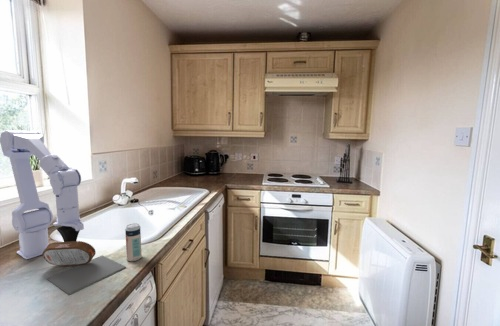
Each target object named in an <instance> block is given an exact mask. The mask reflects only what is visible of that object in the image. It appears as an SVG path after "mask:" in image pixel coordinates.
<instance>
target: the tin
mask: <svg viewBox="0 0 500 326" xmlns="http://www.w3.org/2000/svg"><path fill="white" fill-rule="evenodd" d="M95 255H96V249H95V247H94V246H93V245H91V244H90V243H88V242H86V241H80V240H77V241H73V242H64V241H57V242H56V241H55V242H54V241H53V242H51V243H49V245H48V246H47V247H46V249H45V250H44V251H43V253H42V255H41V256H42V257H43V259H44V260H45V261H46V262H47V263H48V264H50V265H53V266H57V267H63V266H65V267H66V266H77V265H84V264H87V263H89V262H90V261H91V260H92V259H94V257H95Z"/></svg>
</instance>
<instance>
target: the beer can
mask: <svg viewBox="0 0 500 326" xmlns="http://www.w3.org/2000/svg"><path fill="white" fill-rule="evenodd" d="M124 231H125V247H126V250H125V251H126V261H127V262H136V261H139V260H140V259H141V258H142V240H141V239H142V236H141V234H142V233H141V225H140V223H130V224H127V225H126V227H125V228H124Z"/></svg>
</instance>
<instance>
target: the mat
mask: <svg viewBox="0 0 500 326" xmlns="http://www.w3.org/2000/svg"><path fill="white" fill-rule="evenodd" d="M126 268H127V266H126V265H124V264H121V263H119V262H117V261H115V260H113V259H110V258H109V257H107V256H104V255H100V256H97V257H95V258H94V257H93V258H92V260H91V261H90V262H89V263H87V264H84V265H74V266H73V267H69V268H67V269H65V270H63V271H60V272H57V273H55V274H52V275H49V276H47V277H46V280H47V281H49V282H50V283H52V284H53V285H54V286H55V287H57V288H58V289H60V290H61V291H63V292H64V293H65V294H67V295H68V296H70V295H72V294H74V293H76V292H78V291H80V290H82V289H85V288H87V287H88V286H91V285H93V284H94V283H95V284H96V283H97V282H99V281H101V280H104V279H105V278H108V277H109V276H111V275H113V274H116V273H118V272H120V271H122V270H124V269H126Z"/></svg>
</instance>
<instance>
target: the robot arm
mask: <svg viewBox="0 0 500 326" xmlns="http://www.w3.org/2000/svg"><path fill="white" fill-rule="evenodd" d="M44 142H45V138H44V135H43V134H42V133H41V132H40V131H39V130H7V129H5V130H3V131H1V133H0V147H1V151H2V154H3V156H4V157H7V158H9V160H10V161H9V162H10V165H11V169H12V170H11V171H12V173H13V177H14V182H15V186H16V190H17V194H18V198H19V202H20V204H19V205H17V207H16V208H14V209H13V210H12V212H11V224H12V228H13V229H14V230H15V231H16V232H17V233H19V234H18V244H19V250H17V251H16V254H18V255H19V256H21V257H22V258H23V259H25V260H29V259H33V258H36V257H39V256H43V255H42V253H43V251H44V250H45V249H46V247H47V246H48V245H49V244H50V243H49V232H48V231H49V230H48V228H49V227H50V224H52V225H53V226H54V227H56V230H57V232H58V233H59V234H60V236H61V238H62V241H63V242H73V241H78V240H77V239H78V236H79V235H80V234H79V233H80V232H81V230H84V229H85V228H84V227H85V226H84V223H83V222H82V219H81V217H80V206H79V192H78V191H79V190H78V186H80V185H81V182H82V176H81V173H80V171H79V170H78V168H73V167H69V166H68V165H67V164H66V163H65V162H64V161H63V160H62V159H61V157H59V156H58V155H57V154H52V153H51V151H50V150H49V149H48V148H47V146H46V144H45V143H44ZM31 156H34V157H36V158H37V160H39V163H38V165H39V167H40V168H41V169H42V171H44V173H46V175H47V176H48V177H49V184H50V186H51V188H52V193H53V195H55V207H56V216H55V217H54V213H53V211H52V210H51V209H50V206H49V203H47V202H44V201H41V200H40V198H39V194H38V190H37V186H36V181H35V178H34V173H33V168H32V164H31V160H30V158H31ZM54 218H55V222H53V220H54ZM52 222H53V223H52ZM58 226H59V227H58Z"/></svg>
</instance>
